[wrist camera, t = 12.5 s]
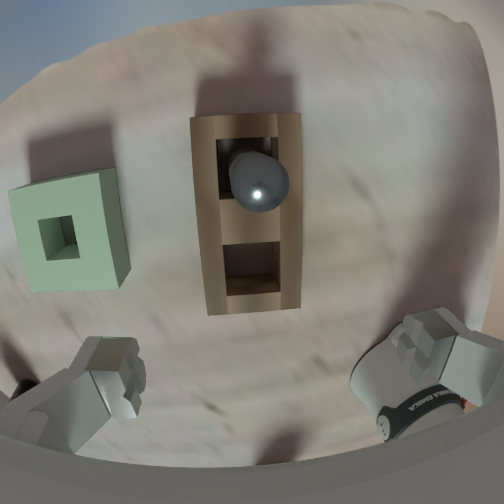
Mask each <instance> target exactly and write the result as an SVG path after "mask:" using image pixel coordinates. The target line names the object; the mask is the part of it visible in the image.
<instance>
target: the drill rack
mask: <svg viewBox="0 0 504 504" xmlns="http://www.w3.org/2000/svg"><path fill="white" fill-rule="evenodd" d="M190 132H191V149H192V164H193V178H194V190H195V202H196V214H197V224H198V235H199V245H200V254H201V263H202V272H203V281H204V289H205V298H206V306H207V313H208V316H209V315H224V314H238V313H251V312H263V311H274V310H285V309H295V308H301V277H302V137H301V113H260V114H234V115H217V116H204V117H192V118H190ZM251 137H271V157H272V158H274V159H276V160H278V161H279V162H280V163H281V164H282V165H283V166H284V168H285V169H286V171H287V173H288V176H289V191H288V194H287V196H286V198H285V199H284V201H283V202H282V203H281V204H280V205H279V206H278V207H276V208H275V209H273V210H271V211H268V212H262V213H258V212H252V211H249V210H247V209H245V208H243V207H242V206H241V205H240V204H239V203H238V202H237V201H236V199H235V198H234V196H233V193H232V191H223V192H220V188H219V172H218V155H217V139H231V138H251ZM273 241H274V274H268V275H255V276H241V277H227V278H226V270H225V258H224V245H229V244H243V243H258V242H273Z"/></svg>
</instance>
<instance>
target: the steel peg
mask: <svg viewBox="0 0 504 504" xmlns="http://www.w3.org/2000/svg"><path fill="white" fill-rule="evenodd" d="M228 171H229V177H230V183H231V189H232V193H233V196H234V198H235V199H236V201H237V202H238V203H239V204H240V205H241V206H242V207H243V208H245V209H247V210H249V211H252V212H258V213H262V212H268V211H271V210H273V209H275V208H276V207H278V206H279V205H280V204H281V203H282V202H283V201H284V199H285V198H286V196H287V194H288V191H289V176H288V173H287V171H286V169H285V168H284V166H283V165H282V164H281V163H280V162H279V161H278V160H276V159H274V158H272V157H270V156H267V155H265V154H262V153H260V152H257V151H254V150H252V149H248V148H242V149H239V150H237V151H235V152H234V153H233V154H232V155H231V156H230V158H229V161H228Z"/></svg>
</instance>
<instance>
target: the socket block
mask: <svg viewBox="0 0 504 504" xmlns="http://www.w3.org/2000/svg"><path fill="white" fill-rule="evenodd" d="M8 195H9V202H10V207H11V213H12V218H13V223H14V228H15V232H16V237H17V241H18V245H19V249H20V253H21V257H22V261H23V265H24V268H25V272H26V275H27V278H28V282H29V285H30V288H31V291H32V292H51V291H82V290H108V289H119V288H120V286H121V285H122V283H123V282H124V280H125V278H126V277H127V275H128V273H129V272H130V270H131V267H130V262H129V257H128V251H127V246H126V240H125V234H124V228H123V221H122V215H121V208H120V200H119V193H118V185H117V176H116V167H115V168H108V169H102V170H96V171H90V172H84V173H78V174H73V175H68V176H63V177H58V178H53V179H48V180H43V181H38V182H34V183H30V184H27V185H24V186H21V187H18V188H15V189H13V190H10V191H8ZM68 215H72V219H73V224H74V230H75V235H76V240H77V244H74V245H65V241H64V236H63V231H62V226H61V221H60V217H61V216H68Z"/></svg>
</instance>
